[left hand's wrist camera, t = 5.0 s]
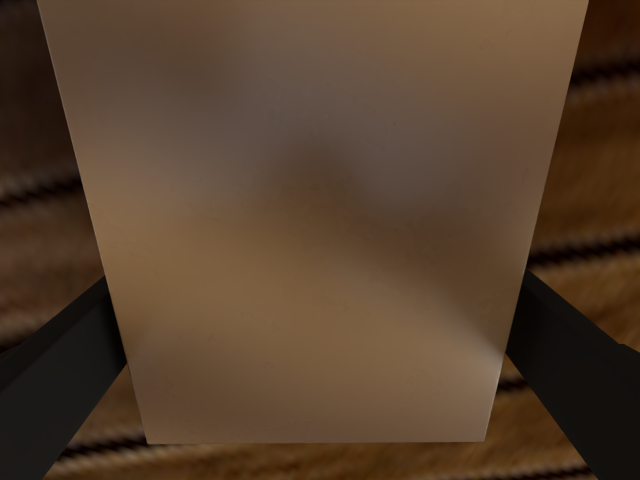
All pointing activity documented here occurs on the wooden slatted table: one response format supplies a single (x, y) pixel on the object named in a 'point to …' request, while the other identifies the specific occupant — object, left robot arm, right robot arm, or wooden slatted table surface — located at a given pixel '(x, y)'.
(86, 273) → the wooden slatted table surface
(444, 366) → the cabinet
